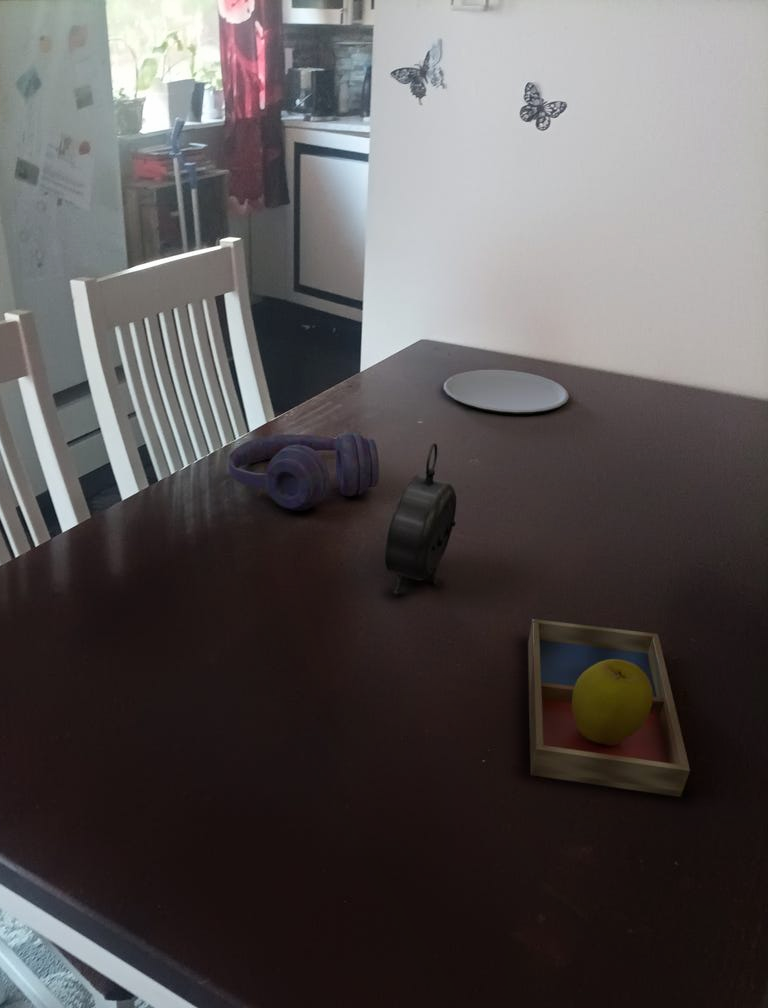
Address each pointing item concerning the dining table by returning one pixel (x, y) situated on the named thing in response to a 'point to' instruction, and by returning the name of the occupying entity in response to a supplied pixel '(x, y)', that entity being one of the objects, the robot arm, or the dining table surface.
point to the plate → (506, 391)
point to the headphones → (306, 467)
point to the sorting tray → (553, 731)
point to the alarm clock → (420, 527)
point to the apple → (611, 701)
